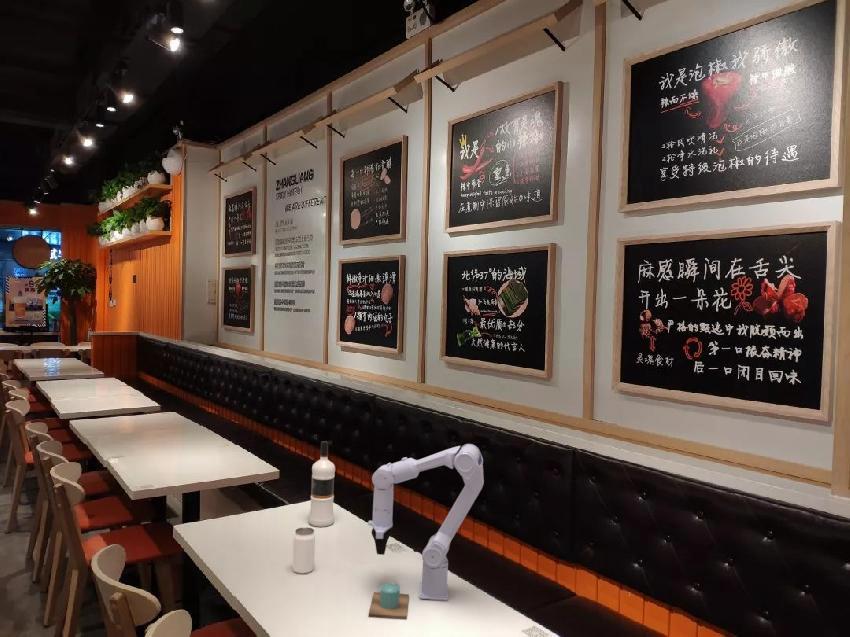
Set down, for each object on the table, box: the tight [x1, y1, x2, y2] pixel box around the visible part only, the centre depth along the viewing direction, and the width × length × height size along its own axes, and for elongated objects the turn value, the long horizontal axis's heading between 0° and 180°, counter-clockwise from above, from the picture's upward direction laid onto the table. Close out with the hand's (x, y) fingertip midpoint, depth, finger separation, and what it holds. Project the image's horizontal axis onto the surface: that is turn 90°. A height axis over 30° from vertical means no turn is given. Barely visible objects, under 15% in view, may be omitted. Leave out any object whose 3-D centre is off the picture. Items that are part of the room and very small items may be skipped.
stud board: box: [367, 591, 410, 620], centre depth 171 cm, size 12×10×4 cm
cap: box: [379, 582, 401, 609], centre depth 171 cm, size 5×5×4 cm
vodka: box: [307, 440, 336, 528], centre depth 228 cm, size 9×9×30 cm
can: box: [291, 526, 316, 575], centre depth 191 cm, size 6×6×12 cm
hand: (380, 553), depth 183 cm, fingers closed
